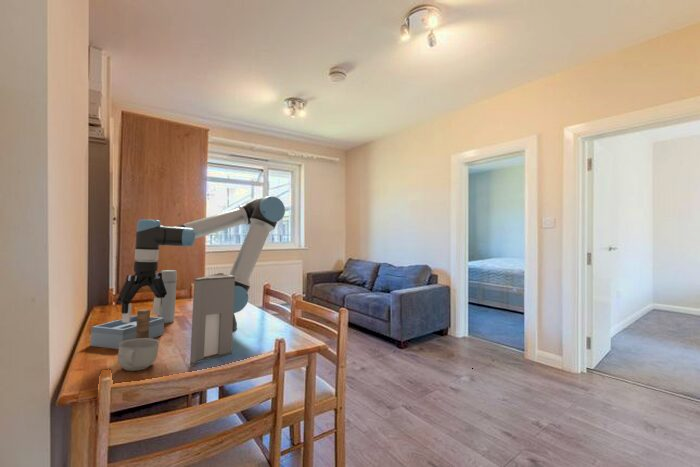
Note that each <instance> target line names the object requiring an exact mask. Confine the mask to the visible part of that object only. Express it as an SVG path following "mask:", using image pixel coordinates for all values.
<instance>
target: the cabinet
mask: <svg viewBox="0 0 700 467" xmlns="http://www.w3.org/2000/svg"><path fill="white" fill-rule="evenodd" d="M228 275H229V274H224V272H223V273H221V272H220V273H219V272H218V273H216V274H215V273H214V274H210V275H207V276H202V277H197V278H195V279H193V296H192V297H193V300H192V318H191V337H190V357H189V365H193V366H195V365H196V364H198V363H200V362H203V361H207V360H212V359H216V358H220V357H224V356H229V355H232V351H233V350H232V348H233V331H232V329H233V307H234V285H235V277H234V276H228Z"/></svg>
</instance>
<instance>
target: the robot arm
mask: <svg viewBox="0 0 700 467" xmlns="http://www.w3.org/2000/svg"><path fill="white" fill-rule="evenodd" d="M285 213H286V207H285V205H284V202H283V201H282V200H281V199H280V198H279V197H277V196H273V195H267V196H264V197H259V198H256V199H254V200H252V201H250V202H247V203H245V204H241V205H239V206H238V208H235V209H231V210H228V211H224V212H221V213H218V214H214V215H210V216H207V217H203V218H200V219H197V220H193V221H189V222H185V223H182V224H179V225H176V226H167V225H162V222H161V220H159V219H148V218H145V219H144V218H143V219H142V218H141V219H139V220H138V221H137V222H136V224H137V225H136V231H135V246H134V247H135V248H134V260H135V261H134V262H133V272H134V273H135V274H133V275H132V274H127V275H126V278H125V282H124V285H123V286H122V289H121V290H120V293H119V295H118V296H117V298H116V301H115V302H116V303H118V304H121V314H122V315H121V319H122V322H123V323H130V320H131V317H132V305H133V304H132V303H131V302H132V301H133V299H134V297H135V296H136V295H137V293H138V292H139V290H140V289H142V288H143V287H146V286H147V287H149V289H150V290H151V291H152V293H153V294H154V296H155V297H153V303H152V304H153V306H152V315H154V316H158V315H160V310H161V305H162V298H164V297H165V295H167V292H166V289H165V286H164V283H163V280H162V273H161V272H157V271H158V270H159V268H158V266H159V265H158V264H159V262H158V260H159V254H160V246H166V247H167V246H169V247H171V246H172V247H173V246H174V247H192V246H193V245H195V240H196V239H198V238H202V237H204V236H208V235H212V234H214V233H217V232H221V231H224V230H228V229H230V228H234V227H237V226H240V225H244V226H247V225H250V227H249V229H248V231H247V233H246V236H245V238H244V241H243V242H242V245H241V247H240V250H239V251H238V253H237V255H236V256H237V257H236V258H235V261H234V263H233V264H232V267H231V270H230V272H229V273H228V274H227V275H228V276H234V277H235V285H234V307H233V329H232V332H233V331H235V330H237V328H238V322H237V318H236V315H235V314H236V313H239V312H241V311H242V310H243V309H244V308H245V307H246V306H247V304H248V302H249V293H248V292H249V290H250V288H251V284H250V278H251V276H252V274H253V272H254V268H255V267H256V264H257V262H258V260H259V257H260V255H261V253H262V250H263V248H264V245H265V244H266V241H267V239H268V236H269V234H270V233H271V231H275V229H276V227H277V224H278V222H280V221H281V220H282V219H283V218H284V216H285ZM162 291H163V292H162Z"/></svg>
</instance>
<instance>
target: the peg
mask: <svg viewBox="0 0 700 467" xmlns="http://www.w3.org/2000/svg"><path fill="white" fill-rule="evenodd" d="M136 315H137V327H136V339H138V338H149V323H150V317H151V310H150V309H138V310H137V313H136Z"/></svg>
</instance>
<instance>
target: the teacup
mask: <svg viewBox="0 0 700 467" xmlns="http://www.w3.org/2000/svg"><path fill="white" fill-rule="evenodd" d="M159 344H160V341H159V340H158V339H156V338H152V339H150V338H138V339H131V340H126V341H123V342H121V343H119V349H118V353H117V363H118V365H119V366H120V367H121V368H122V369H123V370H125V371H130V372H132V371H133V372H134V371H141V370H145V369H147V368H149V367H150V366H151V365H153V364H154V363H155V361H157V360H156V359H157V357H158V351H159Z"/></svg>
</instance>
